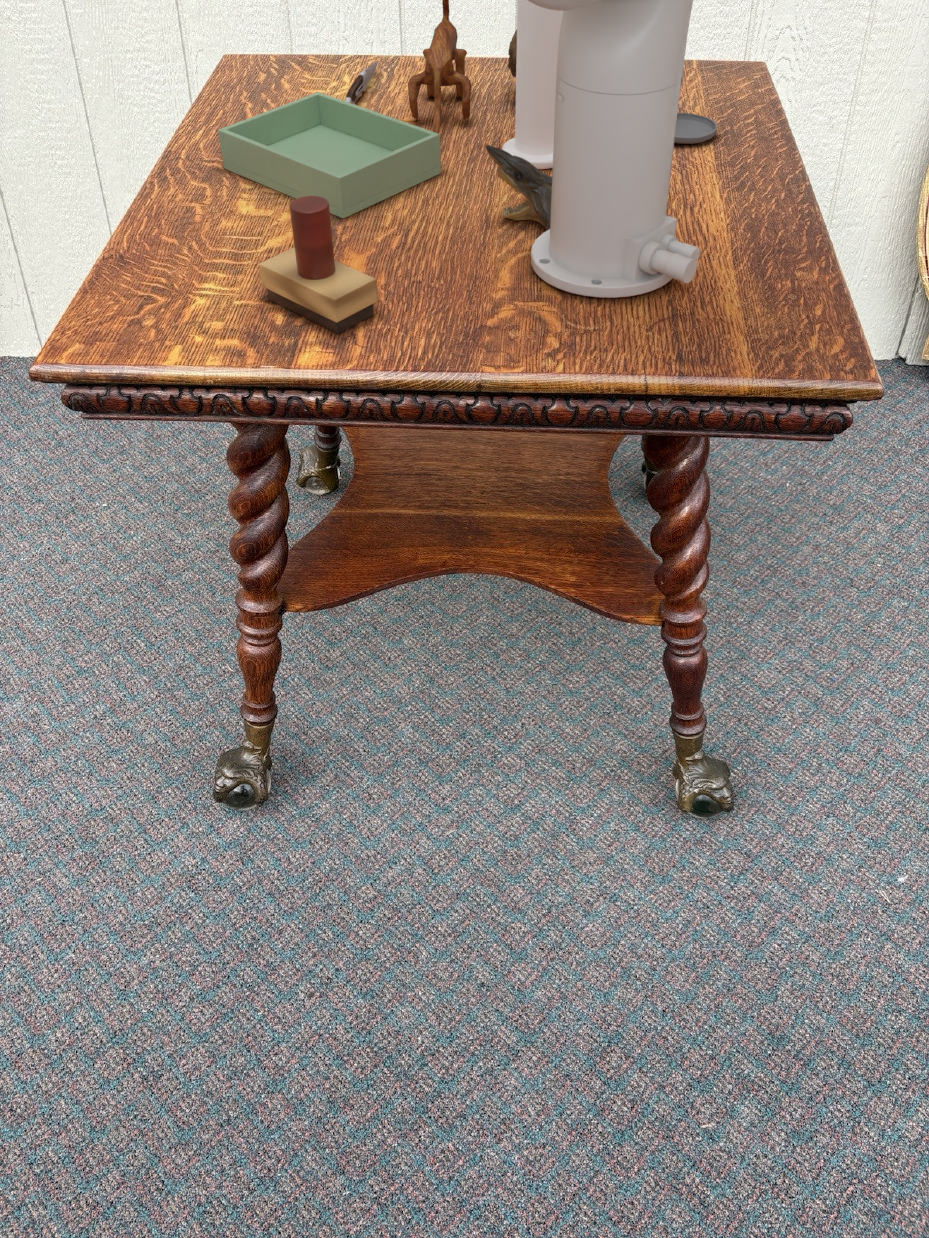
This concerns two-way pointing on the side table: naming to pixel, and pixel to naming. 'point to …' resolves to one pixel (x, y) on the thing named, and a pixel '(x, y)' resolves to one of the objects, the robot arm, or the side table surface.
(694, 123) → the dark grey round piece
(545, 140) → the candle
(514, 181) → the shark head
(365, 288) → the stamp
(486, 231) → the side table surface
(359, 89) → the pocket knife
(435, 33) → the wooden animal figurine
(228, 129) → the tray
